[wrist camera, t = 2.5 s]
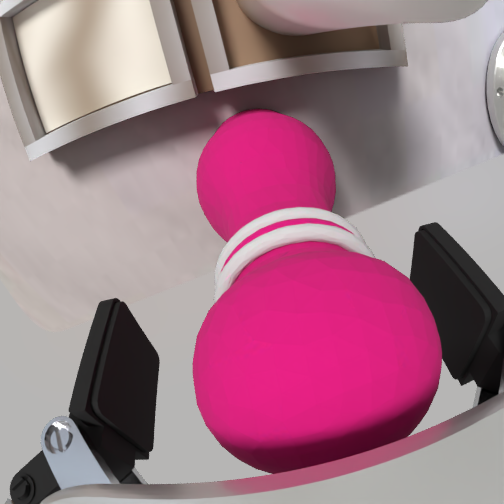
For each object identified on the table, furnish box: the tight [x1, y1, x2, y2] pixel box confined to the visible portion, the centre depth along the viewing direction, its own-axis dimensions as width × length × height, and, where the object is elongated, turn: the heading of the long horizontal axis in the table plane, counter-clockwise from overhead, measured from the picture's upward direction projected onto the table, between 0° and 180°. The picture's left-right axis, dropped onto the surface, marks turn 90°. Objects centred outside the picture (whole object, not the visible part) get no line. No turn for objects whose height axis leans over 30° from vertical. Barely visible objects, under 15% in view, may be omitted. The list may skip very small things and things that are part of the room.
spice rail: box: [0, 0, 408, 161], centre depth 13 cm, size 24×11×3 cm, turn 102°
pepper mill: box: [193, 109, 442, 474], centre depth 12 cm, size 7×7×20 cm
